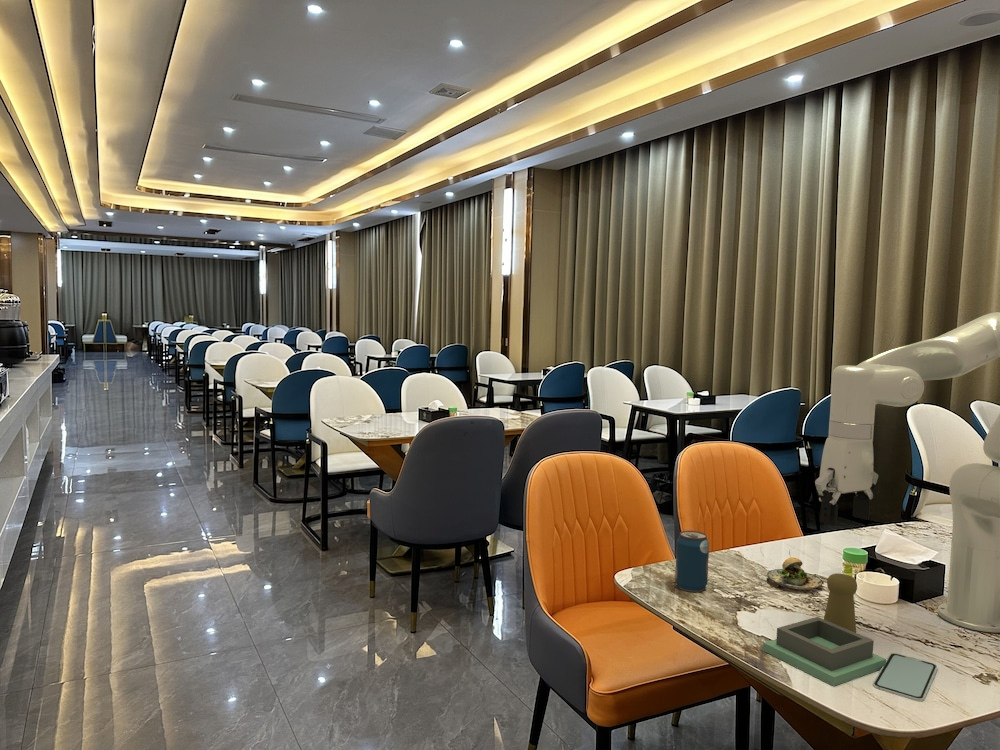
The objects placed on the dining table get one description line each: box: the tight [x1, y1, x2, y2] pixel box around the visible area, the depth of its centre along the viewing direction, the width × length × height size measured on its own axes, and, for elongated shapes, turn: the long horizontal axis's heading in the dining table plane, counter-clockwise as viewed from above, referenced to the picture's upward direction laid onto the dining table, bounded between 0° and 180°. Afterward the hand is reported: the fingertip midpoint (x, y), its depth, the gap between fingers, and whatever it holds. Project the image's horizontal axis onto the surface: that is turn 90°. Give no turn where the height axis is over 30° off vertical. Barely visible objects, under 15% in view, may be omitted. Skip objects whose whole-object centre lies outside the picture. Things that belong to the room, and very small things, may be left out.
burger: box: [766, 549, 825, 591], centre depth 161 cm, size 12×12×8 cm
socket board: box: [762, 616, 887, 687], centre depth 124 cm, size 14×14×4 cm
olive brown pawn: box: [823, 573, 858, 634], centre depth 136 cm, size 6×6×11 cm
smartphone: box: [872, 652, 938, 702], centre depth 119 cm, size 7×1×15 cm
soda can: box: [674, 530, 710, 593], centre depth 157 cm, size 7×7×12 cm
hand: (844, 521), depth 135 cm, fingers open, 9 cm apart
